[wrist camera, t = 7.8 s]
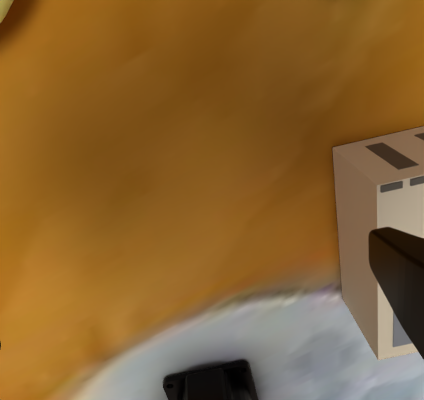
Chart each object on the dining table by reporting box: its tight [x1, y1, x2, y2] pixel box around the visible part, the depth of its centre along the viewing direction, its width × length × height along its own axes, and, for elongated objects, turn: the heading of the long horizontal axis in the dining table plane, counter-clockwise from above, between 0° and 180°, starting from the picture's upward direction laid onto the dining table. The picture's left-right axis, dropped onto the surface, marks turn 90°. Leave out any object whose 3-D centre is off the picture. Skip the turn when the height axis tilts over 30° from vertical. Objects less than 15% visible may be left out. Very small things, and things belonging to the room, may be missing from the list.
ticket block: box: [332, 126, 424, 360], centre depth 20 cm, size 11×5×5 cm, turn 12°
